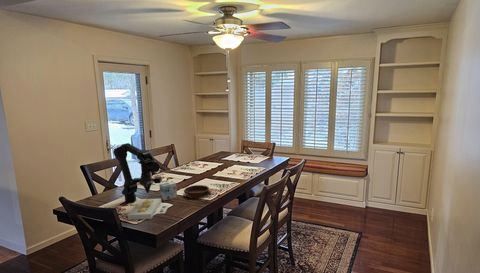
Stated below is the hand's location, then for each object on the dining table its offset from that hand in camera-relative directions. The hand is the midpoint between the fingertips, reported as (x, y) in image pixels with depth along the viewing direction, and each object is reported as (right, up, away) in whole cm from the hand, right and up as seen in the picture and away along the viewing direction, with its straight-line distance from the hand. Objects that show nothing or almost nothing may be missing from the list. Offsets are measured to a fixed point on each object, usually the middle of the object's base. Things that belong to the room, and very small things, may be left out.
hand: (148, 193), depth 197 cm
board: (0, -10, -5) cm, 12 cm away
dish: (+30, -6, +20) cm, 37 cm away
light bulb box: (+10, -7, +17) cm, 21 cm away
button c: (0, -9, +2) cm, 9 cm away
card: (+11, -10, -5) cm, 16 cm away
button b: (0, -9, -6) cm, 10 cm away
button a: (0, -11, -12) cm, 17 cm away
